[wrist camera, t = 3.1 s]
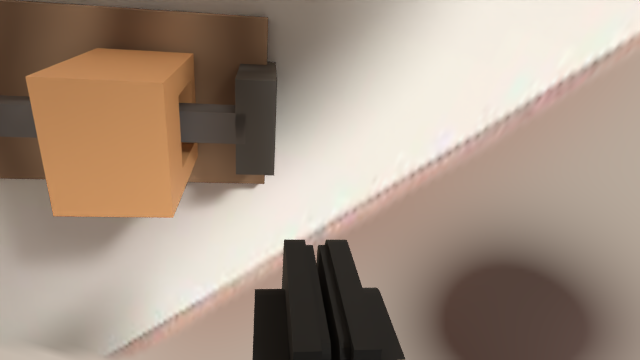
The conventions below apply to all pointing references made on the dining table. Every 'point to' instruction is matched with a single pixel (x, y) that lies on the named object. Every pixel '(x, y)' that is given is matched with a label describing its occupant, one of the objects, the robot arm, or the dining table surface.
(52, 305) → the dining table surface
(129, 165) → the sleeve
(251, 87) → the rod slider toy
